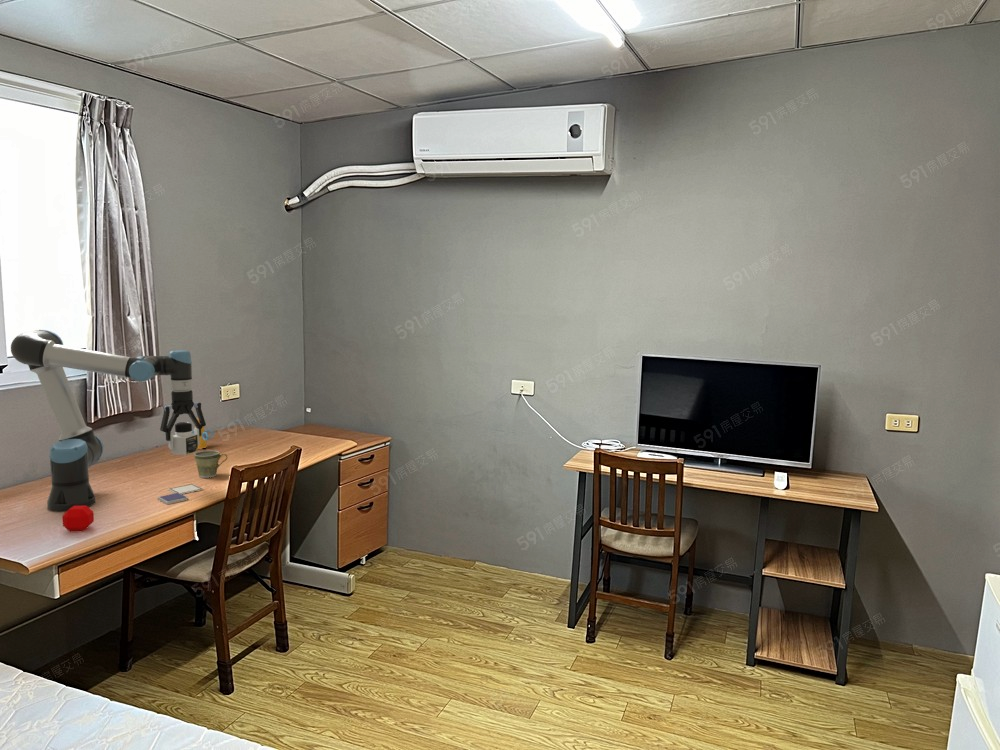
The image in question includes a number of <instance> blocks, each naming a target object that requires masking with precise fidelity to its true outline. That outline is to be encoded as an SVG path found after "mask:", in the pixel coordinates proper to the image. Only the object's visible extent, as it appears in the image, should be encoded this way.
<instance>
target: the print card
mask: <svg viewBox="0 0 1000 750" xmlns="http://www.w3.org/2000/svg"><path fill="white" fill-rule="evenodd" d="M203 489H204V488H203V487H200V486H199V485H196V484H195V483H189V484H185V485H180V486H175V487H169V488H167V491H169V492H172V494H175V493H180V494H183V495H186V494H185V493H188V494H190V492H192V493H195V492H194V491H197V492H199V491H198V490H202V491H204V490H203Z"/></svg>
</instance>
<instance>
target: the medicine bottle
mask: <svg viewBox="0 0 1000 750" xmlns="http://www.w3.org/2000/svg"><path fill="white" fill-rule="evenodd" d="M174 431H175V432H174V434H173V448H174V449H170V454H171V455H179V456H189V455H191V454H195V453H197V452H199V450H198V440H197V434H193V433H192V431H193V424H192V423H191V422H189V421H180V422H177V423H175V424H174Z"/></svg>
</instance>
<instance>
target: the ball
mask: <svg viewBox="0 0 1000 750" xmlns="http://www.w3.org/2000/svg"><path fill="white" fill-rule="evenodd" d="M94 515H95V513H94V510H92V509H91V508H90V506H89V507H88V506H86V505H85V506H73V507H72V508H70V509H69V510H68V511H65V513H64V514H63V515H62V527H64V529H66V530H67V531H68V532H70V533H72V532H71V531H81V532H84V531H86V529H88V528H89V526H90V525H92V524H93V523H94V522H95V519H94V518H95V517H94ZM87 527H88V528H87Z"/></svg>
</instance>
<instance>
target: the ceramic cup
mask: <svg viewBox="0 0 1000 750" xmlns="http://www.w3.org/2000/svg"><path fill="white" fill-rule="evenodd" d="M220 452H221V451H218V450H211V449H210V450H201V451H200V450H199V451H197V452H194V453H193V455H194V460H195V463H196V467H197V473H198V477H199V478H200V477H202V479H212V478H215V477H214V476H216V477H217V473H218V469H219V467H220V466H221V465H223V463H224V462H225V461H227V460H228V455H227V454H226V453H220ZM223 456H224V457H225V459H224V460H222V461H221V463H220V464H219V461H220V460H221V458H222V457H223ZM209 477H210V478H209ZM211 477H212V478H211Z"/></svg>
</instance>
